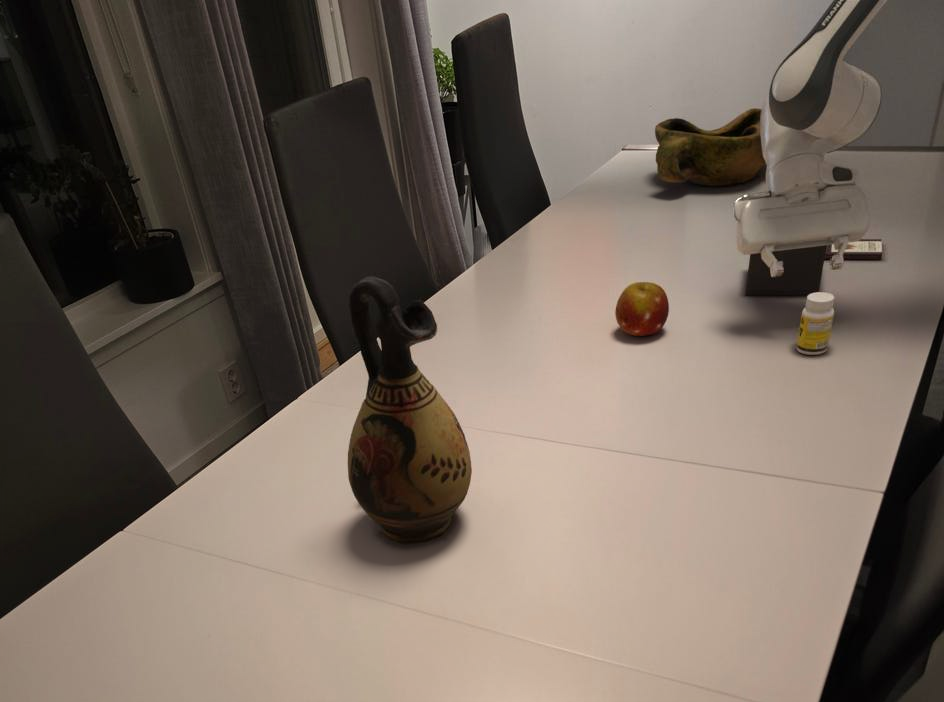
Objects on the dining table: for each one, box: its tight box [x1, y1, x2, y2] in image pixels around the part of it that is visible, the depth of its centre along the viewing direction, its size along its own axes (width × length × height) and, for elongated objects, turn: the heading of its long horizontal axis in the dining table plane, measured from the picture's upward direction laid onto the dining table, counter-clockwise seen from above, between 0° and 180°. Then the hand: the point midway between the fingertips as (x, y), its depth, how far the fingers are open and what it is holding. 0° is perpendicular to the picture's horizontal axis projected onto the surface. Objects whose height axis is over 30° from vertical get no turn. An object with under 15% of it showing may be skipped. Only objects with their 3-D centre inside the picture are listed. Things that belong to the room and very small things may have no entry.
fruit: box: [614, 281, 670, 337], centre depth 144 cm, size 10×9×8 cm
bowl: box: [654, 107, 767, 187], centre depth 209 cm, size 39×29×15 cm
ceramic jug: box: [347, 275, 473, 545], centre depth 99 cm, size 17×15×30 cm
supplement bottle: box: [796, 291, 835, 356], centre depth 132 cm, size 5×5×8 cm
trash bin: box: [745, 245, 827, 296], centre depth 154 cm, size 13×13×10 cm
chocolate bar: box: [824, 238, 883, 260], centre depth 166 cm, size 9×1×18 cm
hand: (807, 271), depth 133 cm, fingers open, 8 cm apart
